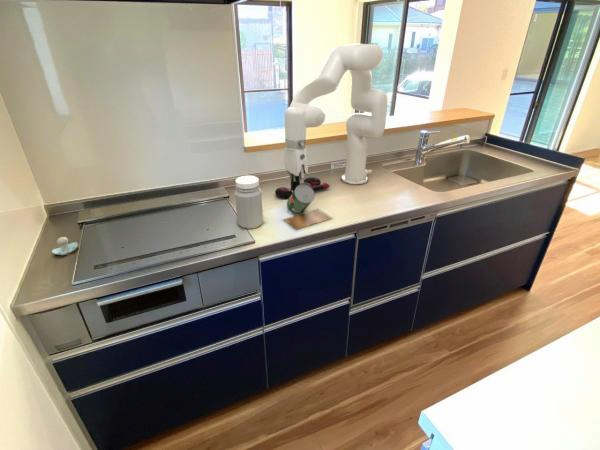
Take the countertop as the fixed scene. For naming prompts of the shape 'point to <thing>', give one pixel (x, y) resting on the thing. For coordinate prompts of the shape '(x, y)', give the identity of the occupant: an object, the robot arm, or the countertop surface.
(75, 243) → the pacifier
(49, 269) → the countertop surface
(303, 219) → the mat
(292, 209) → the canned tomato
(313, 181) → the toy motorcycle
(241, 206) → the jar
